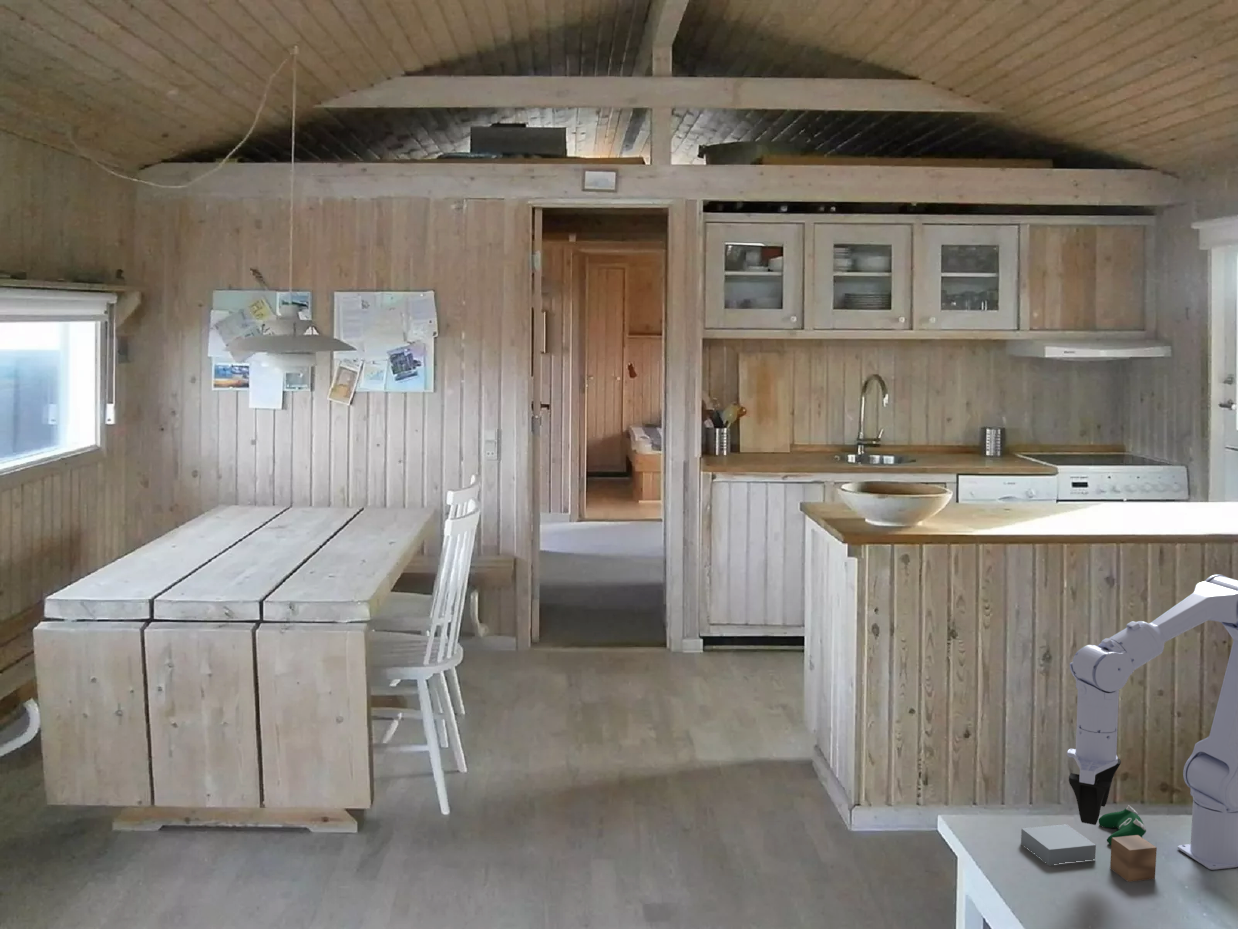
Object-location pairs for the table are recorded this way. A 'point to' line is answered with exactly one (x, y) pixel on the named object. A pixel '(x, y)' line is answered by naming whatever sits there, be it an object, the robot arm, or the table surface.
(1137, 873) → the walnut block
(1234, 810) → the robot arm
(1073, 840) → the slate block
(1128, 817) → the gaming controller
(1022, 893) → the table surface
